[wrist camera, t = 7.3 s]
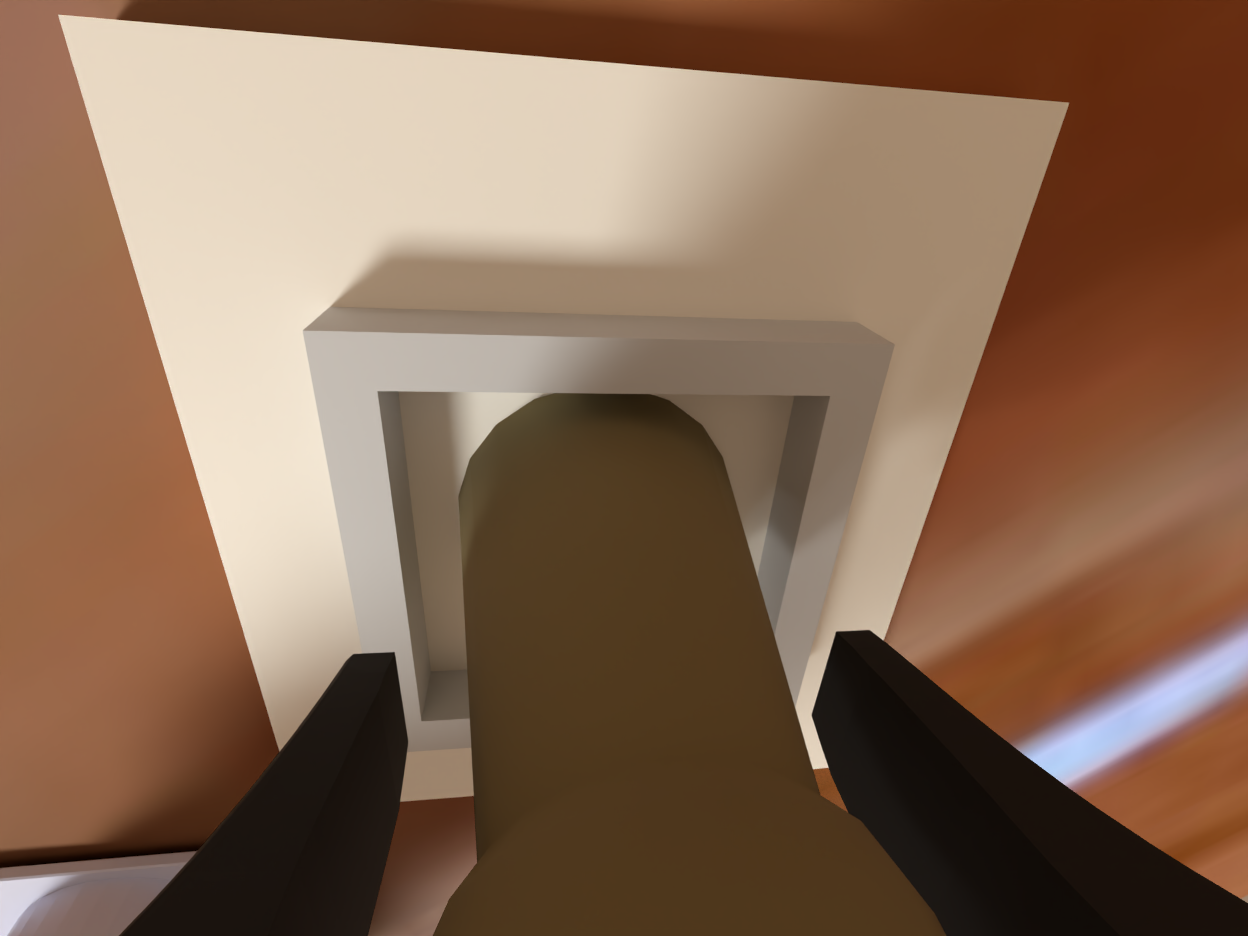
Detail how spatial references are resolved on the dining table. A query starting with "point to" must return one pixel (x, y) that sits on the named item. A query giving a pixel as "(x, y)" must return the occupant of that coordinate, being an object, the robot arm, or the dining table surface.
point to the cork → (639, 700)
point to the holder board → (543, 314)
